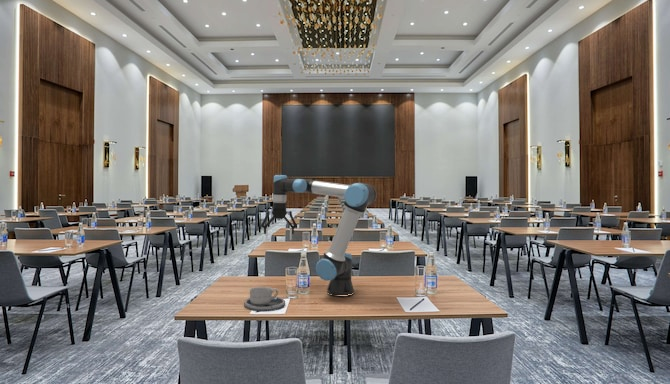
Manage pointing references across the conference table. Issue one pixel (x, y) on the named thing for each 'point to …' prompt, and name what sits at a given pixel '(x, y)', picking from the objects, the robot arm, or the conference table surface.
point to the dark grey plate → (273, 305)
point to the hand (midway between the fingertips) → (278, 239)
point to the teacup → (262, 295)
